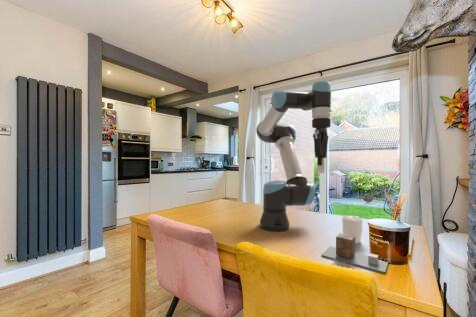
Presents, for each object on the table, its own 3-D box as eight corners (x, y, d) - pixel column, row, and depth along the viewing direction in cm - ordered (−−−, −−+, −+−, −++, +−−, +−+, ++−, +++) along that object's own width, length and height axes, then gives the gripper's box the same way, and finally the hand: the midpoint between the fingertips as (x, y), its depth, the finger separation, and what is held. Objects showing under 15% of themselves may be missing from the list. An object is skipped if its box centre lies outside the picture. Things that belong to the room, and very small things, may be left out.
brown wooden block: (335, 254, 85) (336, 236, 85) (340, 250, 89) (340, 232, 89) (351, 258, 82) (351, 240, 82) (354, 253, 86) (355, 235, 86)
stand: (321, 256, 86) (321, 248, 86) (329, 247, 94) (329, 240, 94) (385, 273, 73) (385, 264, 73) (388, 262, 81) (389, 253, 81)
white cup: (361, 245, 96) (361, 221, 96) (340, 241, 100) (340, 218, 100) (362, 239, 103) (363, 217, 103) (343, 236, 107) (343, 214, 107)
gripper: (325, 115, 94) (324, 174, 94) (334, 119, 104) (334, 172, 104) (306, 117, 98) (306, 173, 99) (317, 120, 108) (317, 171, 109)
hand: (320, 172), depth 101 cm, fingers closed
